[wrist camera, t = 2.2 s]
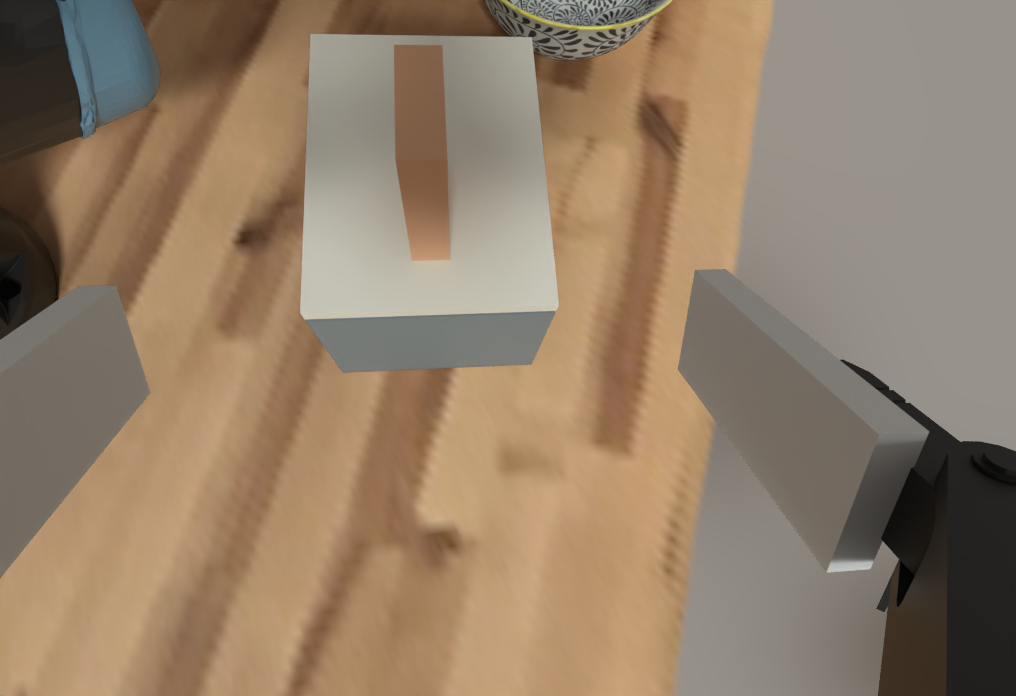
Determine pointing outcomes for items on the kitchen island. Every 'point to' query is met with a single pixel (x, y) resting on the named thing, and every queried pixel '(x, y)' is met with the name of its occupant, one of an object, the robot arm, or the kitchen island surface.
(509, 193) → the lid
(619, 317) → the kitchen island surface
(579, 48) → the bowl
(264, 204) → the kitchen island surface
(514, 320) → the carton
